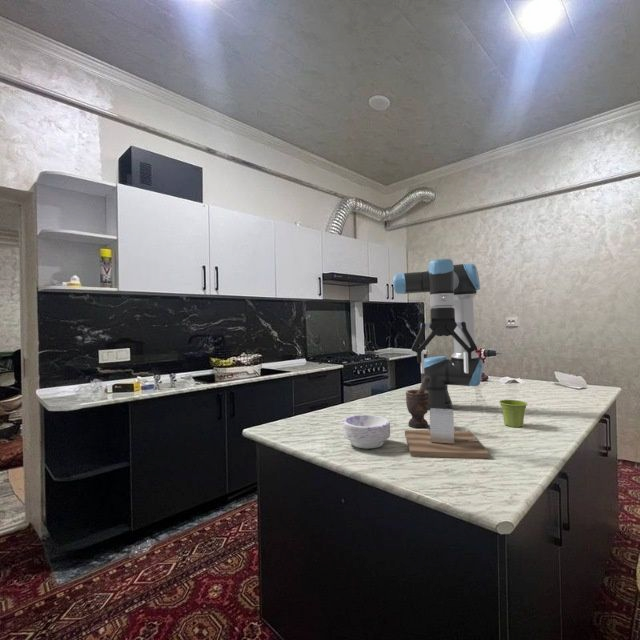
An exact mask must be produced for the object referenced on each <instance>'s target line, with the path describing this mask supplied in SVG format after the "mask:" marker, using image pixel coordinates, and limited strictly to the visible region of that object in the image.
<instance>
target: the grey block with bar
mask: <svg viewBox="0 0 640 640" xmlns="http://www.w3.org/2000/svg"><path fill="white" fill-rule="evenodd" d="M454 419H455V418H454V409H452V408H451V409H436V408H431V409H430V410H429V429H430V439H431V442H439V443H452V444H454V431H455V429H454V428H455V423H454V422H455V421H454Z"/></svg>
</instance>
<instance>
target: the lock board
mask: <svg viewBox="0 0 640 640" xmlns="http://www.w3.org/2000/svg"><path fill="white" fill-rule="evenodd" d="M404 435H405V436H404V437H405V440H406V444H407V448H408V451H409V456H410V457H423V458H424V457H425V458H427V457H428V458H456V459H457V458H459V459H487V460H488V459H490V453H489V451H488V450H487V448H485V446H483V444H481V442H480V440H479V439H477V437H476V436H475V435H474V434H473V432H471V431H470V430H454V444H452V443H439V442H431V439H430V430H428V429H427V430H426V429H422V430H421V429H420V430H419V429H404Z"/></svg>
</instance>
